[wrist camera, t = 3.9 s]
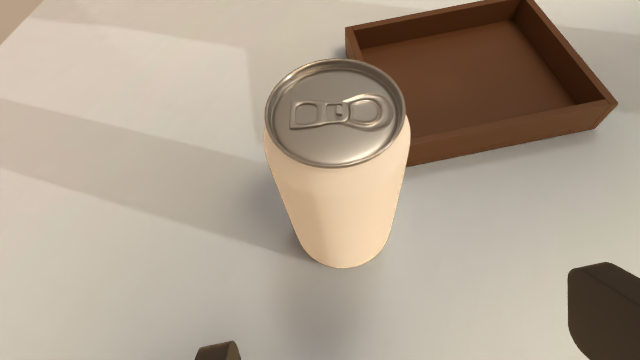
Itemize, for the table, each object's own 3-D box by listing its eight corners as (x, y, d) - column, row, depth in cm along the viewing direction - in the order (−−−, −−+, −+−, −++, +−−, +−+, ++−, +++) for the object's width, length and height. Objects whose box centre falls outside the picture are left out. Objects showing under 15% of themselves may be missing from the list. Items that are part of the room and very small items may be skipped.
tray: (514, 20, 33) (527, -9, 31) (595, 128, 26) (619, 103, 24) (345, 53, 33) (344, 27, 30) (384, 171, 26) (387, 150, 24)
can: (394, 270, 23) (428, 174, 12) (294, 271, 23) (244, 180, 13) (386, 181, 26) (407, 46, 15) (298, 184, 26) (261, 55, 16)
